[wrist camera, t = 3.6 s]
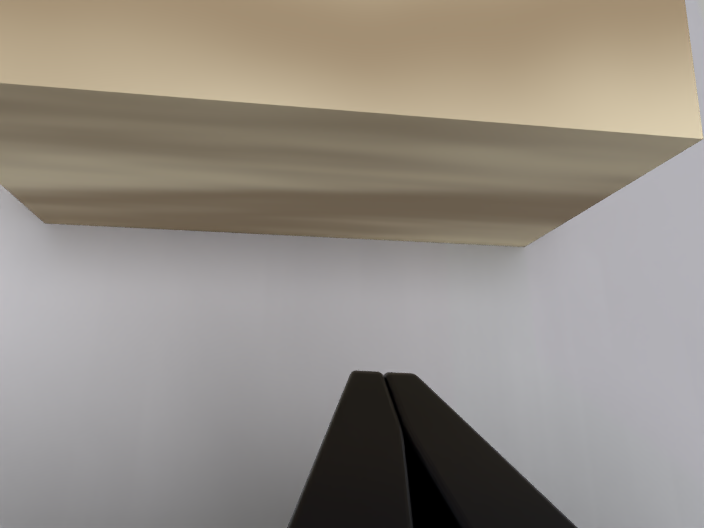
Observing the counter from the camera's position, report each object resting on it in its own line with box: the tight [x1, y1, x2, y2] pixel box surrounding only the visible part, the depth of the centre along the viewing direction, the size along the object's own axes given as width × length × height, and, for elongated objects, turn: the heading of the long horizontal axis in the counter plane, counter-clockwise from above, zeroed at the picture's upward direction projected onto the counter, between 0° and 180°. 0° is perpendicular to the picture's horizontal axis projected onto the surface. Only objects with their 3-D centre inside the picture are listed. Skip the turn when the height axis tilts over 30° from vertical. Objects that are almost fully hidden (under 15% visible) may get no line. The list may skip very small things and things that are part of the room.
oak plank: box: [0, 0, 703, 247], centre depth 15 cm, size 3×14×8 cm, turn 90°
